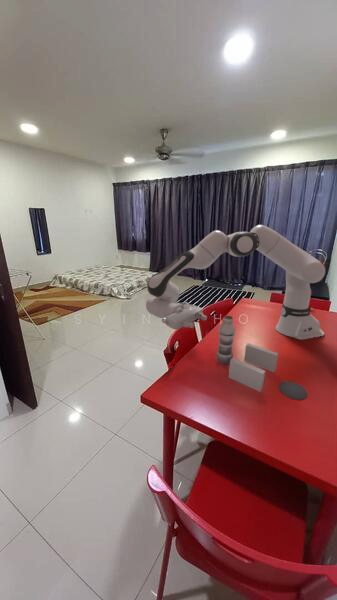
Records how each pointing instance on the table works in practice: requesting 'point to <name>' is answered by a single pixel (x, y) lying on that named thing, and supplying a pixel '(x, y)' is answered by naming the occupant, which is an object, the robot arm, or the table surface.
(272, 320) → the table surface
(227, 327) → the plastic bottle
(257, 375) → the guide channel
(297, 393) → the mat
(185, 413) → the table surface
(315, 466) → the table surface
